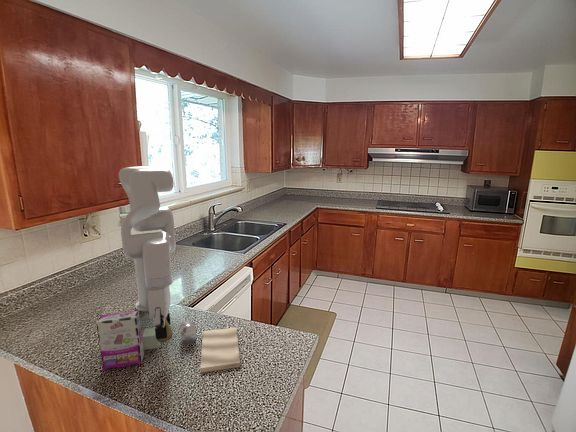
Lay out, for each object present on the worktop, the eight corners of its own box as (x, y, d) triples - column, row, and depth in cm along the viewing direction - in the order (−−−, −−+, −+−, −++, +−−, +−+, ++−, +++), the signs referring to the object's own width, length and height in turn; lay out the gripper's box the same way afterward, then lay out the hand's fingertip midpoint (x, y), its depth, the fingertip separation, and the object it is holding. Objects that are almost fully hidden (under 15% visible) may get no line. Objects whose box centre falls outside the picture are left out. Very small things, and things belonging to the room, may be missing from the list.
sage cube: (146, 341, 111) (145, 328, 109) (161, 339, 112) (160, 326, 111) (143, 350, 106) (141, 336, 105) (159, 348, 107) (157, 335, 106)
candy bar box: (144, 354, 103) (139, 309, 100) (142, 364, 99) (136, 317, 95) (107, 360, 100) (100, 314, 97) (102, 370, 96) (95, 322, 92)
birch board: (203, 334, 114) (203, 331, 114) (236, 330, 117) (236, 327, 116) (200, 372, 95) (200, 368, 95) (240, 366, 98) (240, 362, 97)
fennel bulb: (166, 346, 97) (163, 311, 94) (151, 344, 97) (148, 309, 94) (176, 335, 102) (173, 302, 99) (162, 333, 103) (159, 300, 100)
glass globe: (182, 336, 113) (180, 321, 112) (196, 335, 114) (195, 320, 113) (180, 345, 108) (179, 329, 107) (195, 343, 109) (194, 327, 108)
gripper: (151, 268, 102) (155, 317, 106) (138, 293, 86) (144, 350, 90) (175, 267, 104) (179, 315, 108) (167, 291, 87) (172, 347, 92)
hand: (163, 330), depth 99 cm, fingers closed on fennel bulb, 6 cm apart
